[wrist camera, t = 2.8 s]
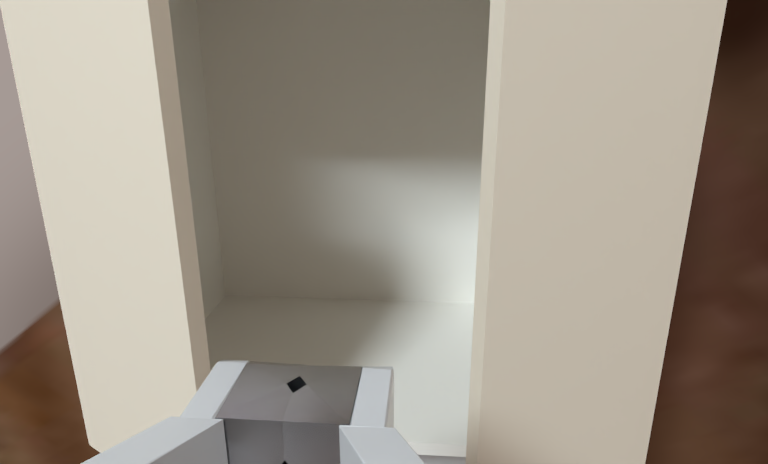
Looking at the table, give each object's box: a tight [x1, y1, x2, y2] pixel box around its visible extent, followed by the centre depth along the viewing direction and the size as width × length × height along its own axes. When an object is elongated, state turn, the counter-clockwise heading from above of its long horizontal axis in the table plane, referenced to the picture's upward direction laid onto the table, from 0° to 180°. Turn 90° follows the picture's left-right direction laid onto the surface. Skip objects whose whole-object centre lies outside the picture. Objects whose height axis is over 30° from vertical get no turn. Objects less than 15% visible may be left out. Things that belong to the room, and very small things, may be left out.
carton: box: [168, 0, 490, 457], centre depth 26 cm, size 20×22×14 cm
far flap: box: [0, 0, 211, 453], centre depth 18 cm, size 20×8×1 cm, turn 0°
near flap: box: [466, 0, 727, 464], centre depth 17 cm, size 20×8×1 cm
